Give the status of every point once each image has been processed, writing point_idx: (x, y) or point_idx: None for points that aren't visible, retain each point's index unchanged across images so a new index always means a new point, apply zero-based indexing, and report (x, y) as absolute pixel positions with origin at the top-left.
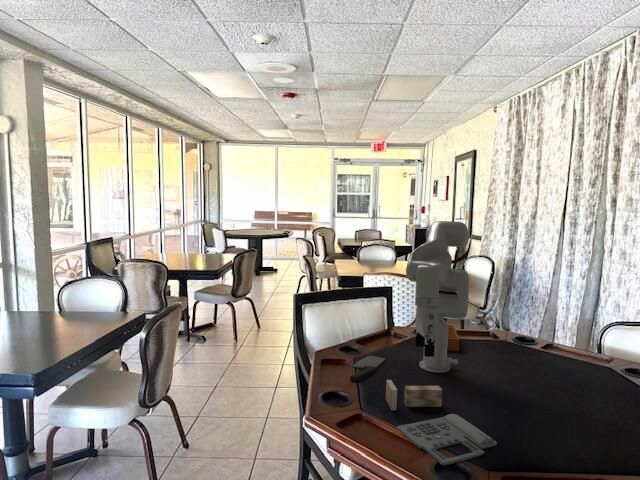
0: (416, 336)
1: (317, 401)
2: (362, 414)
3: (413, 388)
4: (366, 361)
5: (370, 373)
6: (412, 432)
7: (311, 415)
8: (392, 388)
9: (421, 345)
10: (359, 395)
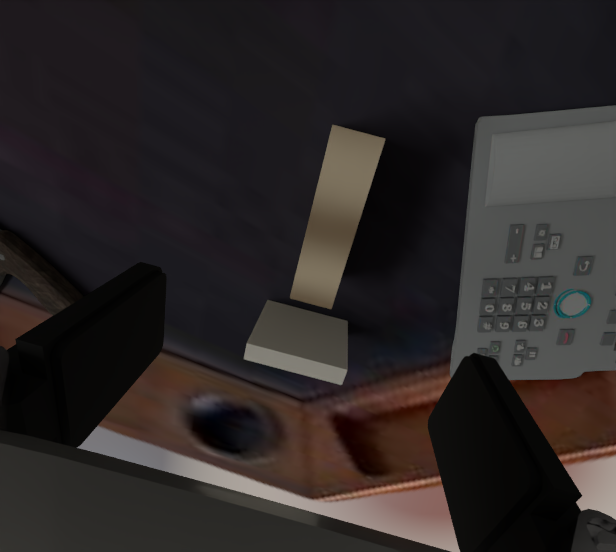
0: (70, 442)
1: (243, 467)
2: (340, 411)
3: (325, 276)
4: None
5: (52, 270)
6: (506, 358)
7: (309, 497)
8: (329, 378)
9: (158, 308)
10: (224, 371)
